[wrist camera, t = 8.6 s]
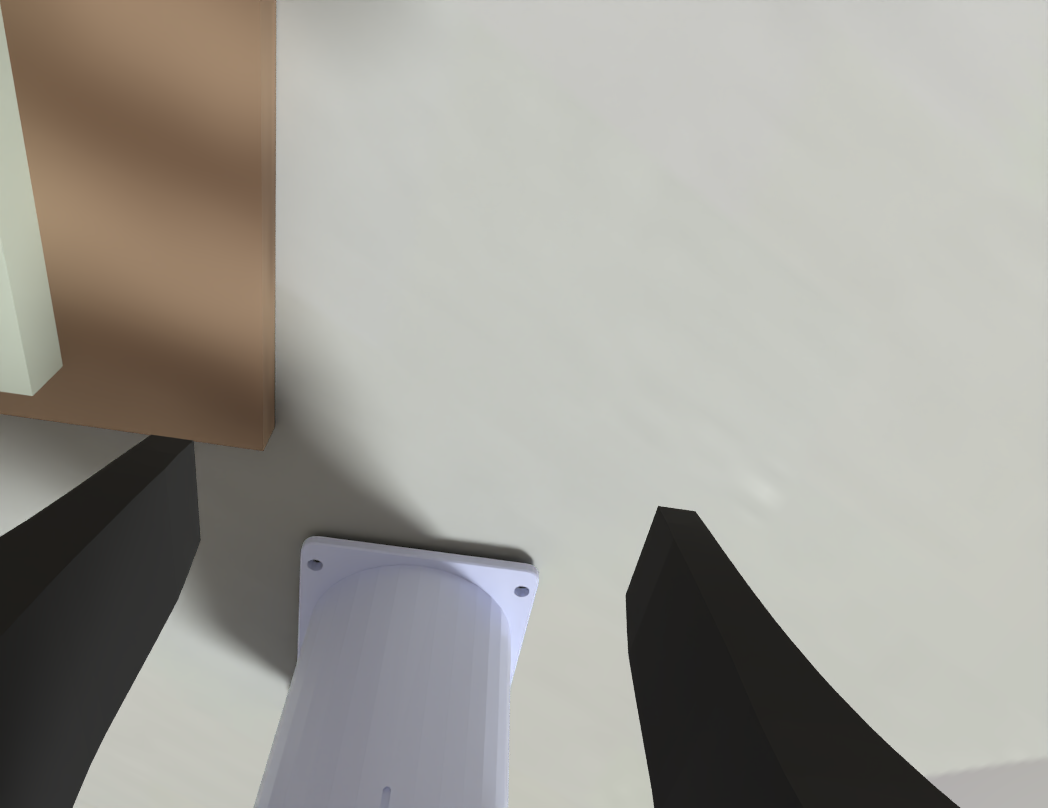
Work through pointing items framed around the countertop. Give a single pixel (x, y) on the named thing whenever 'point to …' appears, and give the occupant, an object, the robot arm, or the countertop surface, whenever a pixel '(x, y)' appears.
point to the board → (153, 211)
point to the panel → (21, 259)
